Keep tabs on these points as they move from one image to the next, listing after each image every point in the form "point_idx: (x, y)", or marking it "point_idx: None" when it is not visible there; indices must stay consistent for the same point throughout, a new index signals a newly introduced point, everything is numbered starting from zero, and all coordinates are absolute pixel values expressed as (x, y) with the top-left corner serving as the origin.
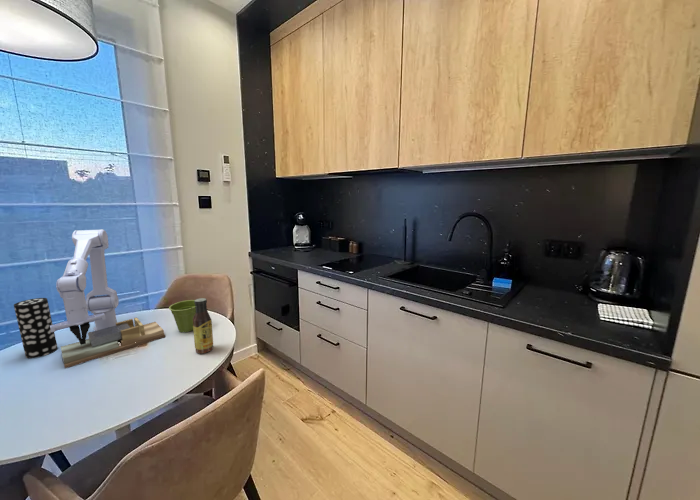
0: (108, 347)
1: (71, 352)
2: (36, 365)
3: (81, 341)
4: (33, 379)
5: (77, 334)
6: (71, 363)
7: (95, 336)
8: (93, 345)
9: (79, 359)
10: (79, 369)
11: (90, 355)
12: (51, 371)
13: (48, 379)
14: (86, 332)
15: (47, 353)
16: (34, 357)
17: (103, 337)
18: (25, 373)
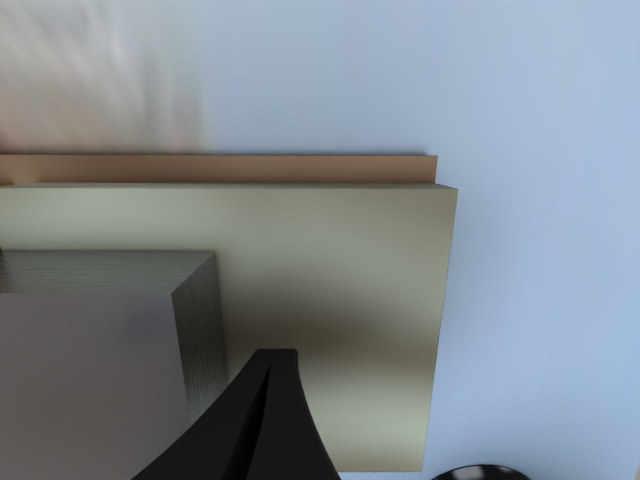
0: (95, 185)
1: (377, 289)
2: (536, 362)
3: (281, 367)
4: (608, 136)
5: (298, 470)
6: (389, 156)
7: (118, 363)
8: (194, 257)
9: (332, 180)
10: (349, 32)
11: (253, 184)
12: (499, 182)
13: (547, 33)
14: (161, 465)
15: (464, 476)
16: (519, 475)
17: (37, 285)
18: (608, 288)
